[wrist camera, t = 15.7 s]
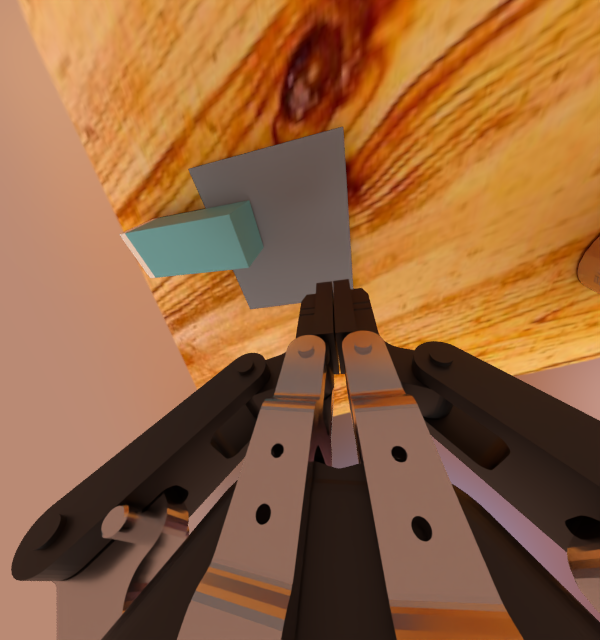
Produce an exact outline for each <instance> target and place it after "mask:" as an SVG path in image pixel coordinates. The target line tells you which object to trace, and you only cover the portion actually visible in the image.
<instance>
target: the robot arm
mask: <svg viewBox="0 0 600 640" xmlns="http://www.w3.org/2000/svg"><path fill="white" fill-rule="evenodd" d="M578 279H579V280H580V282H581V283H582V284H583V285H585V286H586V287H588V288H590V289H591V290H593V291H595V292H597V293H598V294H600V236H599V237H598V238H597V239H596V240H595V241H594V242H593V243H592V245H591V246H590V247H589V249H588V250H587V251H586V252H585V254H584V256H583V258H582V259H581V261H580V263H579V268H578ZM333 290H334V293H333ZM299 315H300V316H299V321H298V327H297V333H296V339H294V340H293V341H292V342H291V343H290V344H289V346H288V348H287V351H286V352H285V353H283V354H282V355H279V356H276V357H273V358H270V359H267V360H265V359H264V357H263V356H262V355H260V354H257V353H248V354H245V355H242V356H240V357H239V358H237V359H236V360H234V361H233V362H232V363H231V364H229V365H228V366H227V367H226V368H224V369H223V370H222V371H221V372H219V373H218V374H217V375H216V376H214V377H213V378H212V379H211V380H209V381H208V382H207V383H206V384H204V385H203V386H202V387H201V388H199V389H198V390H197V391H196V392H194V393H193V394H192V395H191V396H189V397H188V398H187V399H186V400H184V401H183V402H182V403H180V404H179V405H178V406H177V407H176V408H174V409H173V410H172V411H170V412H169V413H168V414H167V415H165V416H164V417H163V418H162V419H160V420H159V421H158V422H157V423H155V424H154V425H153V426H152V427H150V428H149V429H148V430H147V431H145V432H144V433H143V434H142V435H140V436H139V437H138V438H137V439H135V440H134V441H133V442H132V443H130V444H129V445H128V446H127V447H125V448H124V449H123V450H121V451H120V452H119V453H118V454H116V455H115V456H114V457H113V458H111V459H110V460H109V461H108V462H106V463H105V464H104V465H103V466H101V467H100V468H99V469H98V470H96V471H95V472H94V473H93V474H91V475H90V476H89V477H88V478H86V479H85V480H84V481H83V482H81V483H80V484H79V485H78V486H76V487H75V488H74V489H73V490H72V491H70V492H69V493H68V494H66V495H65V496H64V497H63V498H61V499H60V500H59V501H57V502H56V503H55V504H54V505H52V506H51V507H50V508H49V509H48V510H47V511H46V512H45V513H44V514H43V515H42V516H41V517H40V518H39V519H38V520H37V521H36V522H35V523H34V524H33V526H32V527H31V528H30V530H29V531H28V532H27V534H26V535H25V536H24V538H23V540H22V541H21V543H20V545H19V547H18V549H17V551H16V553H15V556H14V558H13V562H12V569H11V570H12V575H13V577H14V578H15V579H16V580H20V581H52V582H54V583H55V584H56V587H57V640H600V622H599V621H598V620H597V619H596V618H595V617H594V616H593V615H592V614H591V613H590V612H589V611H588V610H587V609H586V608H585V607H584V606H583V605H582V604H581V603H580V602H579V601H577V599H576V598H575V597H574V596H573V595H572V594H571V593H570V592H569V591H568V590H566V588H564V587H563V586H562V585H561V584H560V583H559V582H558V581H557V580H556V579H555V578H554V577H553V576H552V575H551V574H550V573H549V572H548V571H547V570H546V569H545V568H544V567H543V566H542V565H541V564H540V563H539V562H538V561H537V560H536V559H535V558H534V557H533V556H532V555H531V554H530V553H529V552H528V551H527V550H526V549H525V548H524V547H523V546H522V545H521V544H520V543H519V542H518V541H517V540H516V539H515V538H514V537H513V536H512V535H511V534H510V533H509V532H508V531H507V530H506V529H505V528H504V527H503V526H502V525H501V524H500V523H498V521H496V520H495V518H493V517H492V515H491V514H490V513H488V512H487V511H486V510H485V509H484V508H483V507H482V506H481V505H480V504H479V503H477V502H476V501H475V500H474V499H473V498H471V497H470V496H469V495H468V494H466V493H465V492H463V491H462V490H461V489H459V488H458V487H456V486H455V485H453V484H451V482H450V480H449V477H448V475H447V472H446V470H445V468H444V465H443V463H442V461H441V458H440V456H439V454H438V451H437V449H436V447H435V444H434V442H433V440H432V437H431V435H432V436H433V437H434V438H435V439H436V440H437V441H438V442H440V443H441V444H442V445H443V446H444V447H445V448H447V449H448V450H449V451H450V452H451V453H452V454H454V455H455V456H456V457H457V458H458V459H459V460H461V461H462V462H463V463H464V464H465V465H466V466H467V467H469V468H470V469H471V470H472V471H473V472H474V473H476V474H477V475H478V476H479V477H480V478H481V479H483V480H484V481H485V482H486V483H487V484H488V485H489V486H491V487H492V488H493V489H494V490H495V491H497V492H498V493H499V494H500V495H501V496H502V497H503V498H504V499H506V500H507V501H508V502H509V503H510V504H511V505H513V506H514V507H515V508H516V509H517V510H518V511H520V512H521V513H522V514H523V515H524V516H525V517H527V518H528V519H529V520H530V521H531V522H532V523H533V524H535V525H536V526H537V527H538V528H539V529H540V530H542V531H543V532H544V533H545V534H546V535H547V536H549V537H550V538H551V539H552V540H553V541H554V542H555V543H557V544H558V545H559V546H560V547H561V548H562V549H564V550H565V551H566V552H567V558H568V563H569V566H570V569H571V572H572V574H573V576H574V579H575V582H576V583H577V586H578V587H579V589H580V590H581V592H582V593H583V594H584V596H585V597H586V598H587V599H588V600H589V601H590V603H591V604H592V605H593V606H594V608H595V609H596V610H597V611H598V612H599V613H600V421H599V420H597V419H595V418H593V417H591V416H589V415H587V414H585V413H584V412H582V411H580V410H578V409H576V408H574V407H572V406H570V405H568V404H566V403H564V402H562V401H560V400H558V399H556V398H554V397H552V396H550V395H548V394H546V393H545V392H543V391H541V390H539V389H536V388H535V387H533V386H531V385H529V384H527V383H525V382H523V381H521V380H519V379H517V378H515V377H513V376H512V375H510V374H508V373H506V372H504V371H502V370H500V369H498V368H496V367H494V366H492V365H490V364H488V363H486V362H484V361H482V360H480V359H478V358H476V357H475V356H473V355H471V354H469V353H467V352H465V351H463V350H461V349H459V348H457V347H455V346H453V345H451V344H448V343H444V342H437V341H432V342H426V343H423V344H421V345H419V346H418V347H417V348H416V349H415V350H410V349H404V348H399V347H395V346H392V345H390V344H388V343H387V342H385V341H384V340H383V339H382V338H381V337H380V335H379V333H378V330H377V326H376V322H375V318H374V314H373V311H372V307H371V303H370V299H369V295H368V293H367V292H365V291H364V290H363V289H362V288H358V289H350V283H349V279H343V280H336V281H333V285H332V281H328V282H320V283H316V294H308V295H306V296H305V298H304V299H303V300H302V301H301V308H300V314H299ZM338 355H339V358H338ZM339 363H340V370H341V374H345V376H346V385H347V393H348V399H349V405H350V411H351V417H352V423H353V429H354V435H355V441H356V448H357V455H358V462H359V464H356V465H353V466H349V467H346V468H341V469H338V468H334V467H332V447H331V434H332V417H333V399H334V389H333V388H334V374H339ZM244 457H245V459H244V462H243V466H242V469H241V472H240V475H239V479H238V480H237V481H236V482H235V483H234V484H233V485H232V486H231V487H230V488H229V489H228V490H227V491H226V492H225V493H224V494H223V496H222V497H221V498H220V499H219V500H218V502H217V503H216V504H215V505H214V506H213V508H212V509H211V510H210V511H209V512H208V513H207V515H206V516H205V517H204V518H203V519H202V521H201V522H200V523H199V524H198V525H197V527H196V528H195V529H194V530H193V531H192V532H191V534H190V535H189V527H188V522H189V517H190V516H191V515H192V514H193V513H194V512H195V510H196V509H197V508H198V507H199V506H200V505H201V504H202V503H203V502H204V501H205V499H207V497H208V496H209V495H210V494H211V493H212V492H213V491H214V490H215V489H216V487H218V486H219V485H220V483H221V482H222V481H223V480H224V479H225V478H226V477H227V476H228V475H229V474H230V473H231V471H232V470H233V469H234V468H235V467H236V466H237V465H238V464H239V463H240V462H241V461H242V459H243V458H244Z"/></svg>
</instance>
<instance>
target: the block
mask: <svg viewBox="0 0 600 640" xmlns="http://www.w3.org/2000/svg"><path fill="white" fill-rule="evenodd" d="M120 236H121V238H122V239H123V241H124V242H125V243H126V245H127V246H128V248H129V249H130V250H131V252H132V253H133V255H134V256H135V257H136V259H137V260H138V262H139V263H140V264H141V266H142V267H143V269H144V270H145V271H146V273H147V274H148V276H149V277H150V278H157V277H166V276H176V275H185V274H195V273H204V272H214V271H223V270H233V269H242V268H249V267H250V266H251V264H252V263H253V261H254V260H255V259H256V257H257V256H258V255H259V253H260V252H261V251H262V249H263V248H264V247H263V243H262V240H261V237H260V234H259V230H258V227H257V224H256V221H255V217H254V214H253V211H252V208H251V204H250V201H249V200H248V201H243V202H238V203H232V204H227V205H222V206H217V207H212V208H207V209H202V210H196V211H191V212H186V213H181V214H176V215H171V216H166V217H160V218H155V219H152V220H150V221H147V222H145V223H143V224H141V225H139V226H136V227H134V228H132V229H130V230H128V231H125V232H123V233H121V234H120Z"/></svg>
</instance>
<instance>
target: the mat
mask: <svg viewBox="0 0 600 640" xmlns="http://www.w3.org/2000/svg"><path fill="white" fill-rule="evenodd" d="M188 170H189V172H190V174H191V176H192V179H193V181H194V183H195V185H196V188H197V190H198V192H199V194H200V197H201V199H202V201H203V203H204V206H205V208H206V209H207V208H212V207H217V206H222V205H227V204H232V203H238V202H243V201H248V200H249V201H250V204H251V208H252V211H253V214H254V217H255V221H256V224H257V227H258V230H259V234H260V237H261V240H262V243H263V247H264V248H263V249H262V251H261V252H260V253H259V255H258V256H257V257H256V259H255V260H254V261H253V263H252V264H251V266H250V267H249V268H242V269H233V271H234V273H235V276H236V278H237V280H238V282H239V285H240V287H241V289H242V291H243V294H244V296H245V298H246V300H247V303H248V305H249V307H250V309H256V308H264V307H272V306H280V305H287V304H295V303H301V301H302V300H303V299H304V298H305V296H306V295H308V294H316V283H320V282H328V281H332V285H333V281H336V280H343V279H349V283H350V289H353V279H352V262H351V246H350V230H349V213H348V197H347V181H346V164H345V148H344V132H343V127H340V128H336V129H332V130H329V131H325V132H321V133H318V134H314V135H311V136H307V137H303V138H300V139H296V140H292V141H289V142H285V143H281V144H278V145H274V146H270V147H267V148H263V149H260V150H256V151H252V152H249V153H245V154H241V155H238V156H234V157H230V158H227V159H223V160H220V161H216V162H212V163H209V164H205V165H201V166H198V167H194V168H190V169H188ZM333 293H334V290H333Z"/></svg>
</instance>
